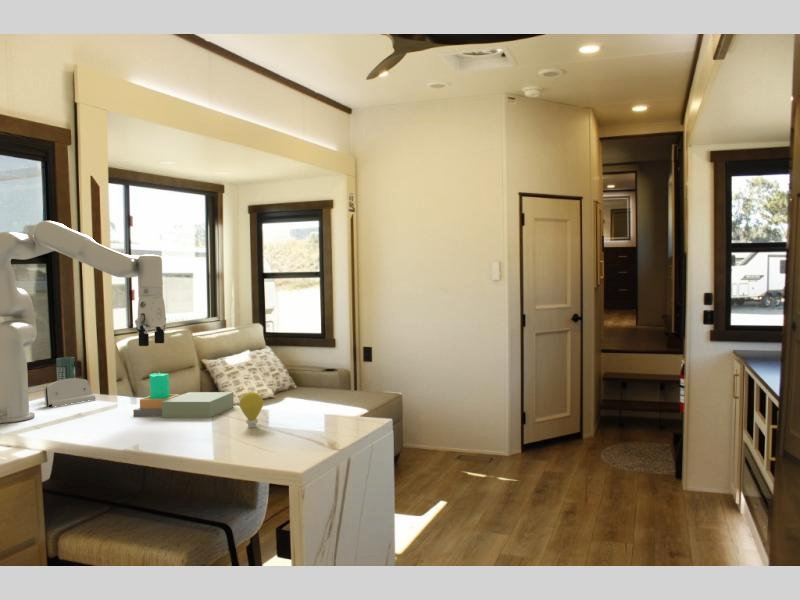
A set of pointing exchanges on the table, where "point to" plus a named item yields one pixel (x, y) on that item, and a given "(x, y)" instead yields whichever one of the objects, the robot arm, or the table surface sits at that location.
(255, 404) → the light bulb
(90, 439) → the table surface
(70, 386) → the hinge
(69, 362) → the can
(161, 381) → the candle
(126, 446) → the table surface
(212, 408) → the desk organizer
